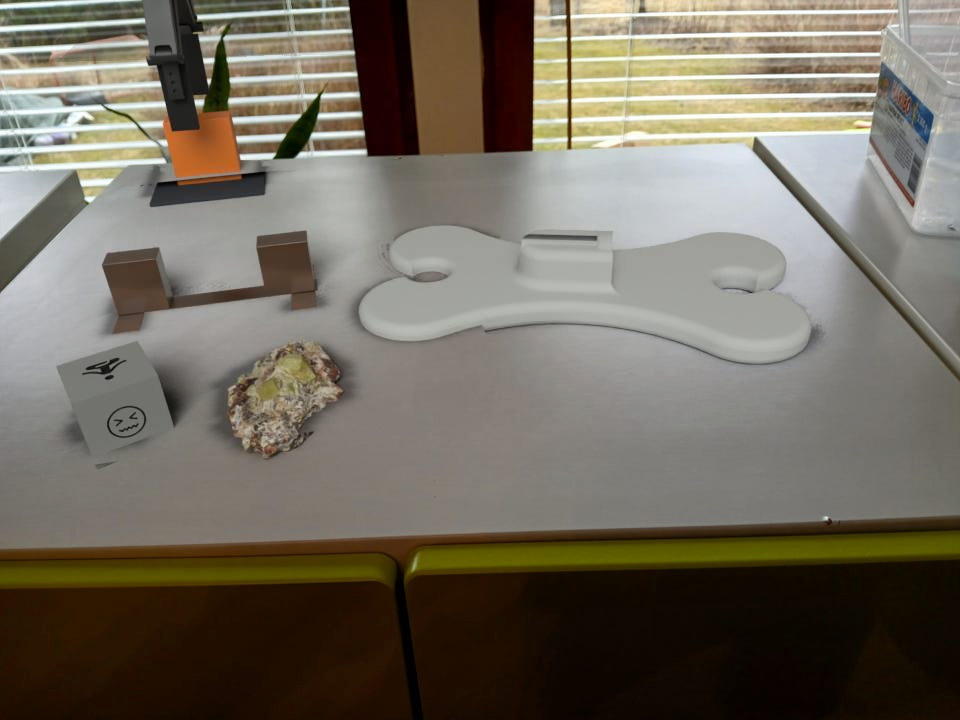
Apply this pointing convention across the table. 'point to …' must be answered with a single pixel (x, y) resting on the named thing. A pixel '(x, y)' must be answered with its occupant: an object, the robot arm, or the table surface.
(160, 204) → the mat
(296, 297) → the stand
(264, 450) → the mineral rock
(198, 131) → the orange flat square block
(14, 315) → the table surface
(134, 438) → the dice cube
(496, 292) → the holder
